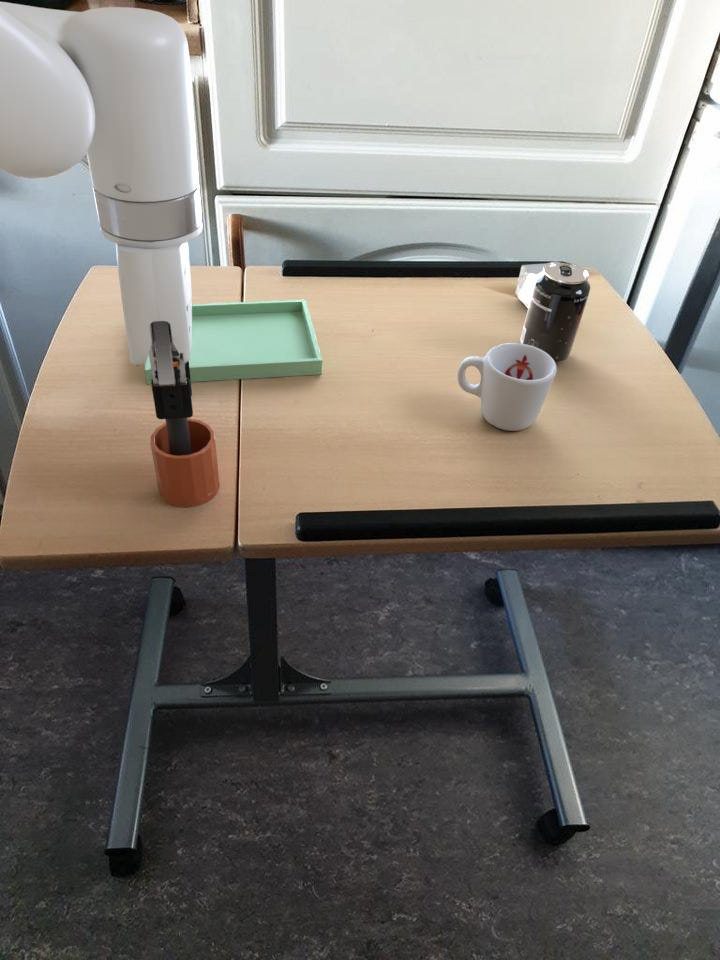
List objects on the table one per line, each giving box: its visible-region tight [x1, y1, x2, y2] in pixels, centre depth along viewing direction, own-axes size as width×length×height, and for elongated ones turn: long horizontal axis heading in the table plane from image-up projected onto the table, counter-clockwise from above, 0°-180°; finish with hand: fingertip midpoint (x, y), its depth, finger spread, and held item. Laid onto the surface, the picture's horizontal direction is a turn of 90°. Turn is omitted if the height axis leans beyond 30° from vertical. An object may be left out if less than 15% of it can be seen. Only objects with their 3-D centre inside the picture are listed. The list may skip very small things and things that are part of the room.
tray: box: [144, 299, 323, 386], centre depth 91 cm, size 21×15×2 cm
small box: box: [514, 262, 549, 309], centre depth 104 cm, size 6×6×5 cm
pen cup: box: [150, 417, 220, 508], centre depth 70 cm, size 6×6×6 cm
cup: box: [457, 342, 558, 432], centre depth 82 cm, size 11×8×8 cm
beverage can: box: [519, 260, 591, 364], centre depth 91 cm, size 7×7×12 cm
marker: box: [164, 361, 191, 456], centre depth 66 cm, size 2×2×14 cm
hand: (174, 405), depth 65 cm, fingers closed on marker, 2 cm apart
